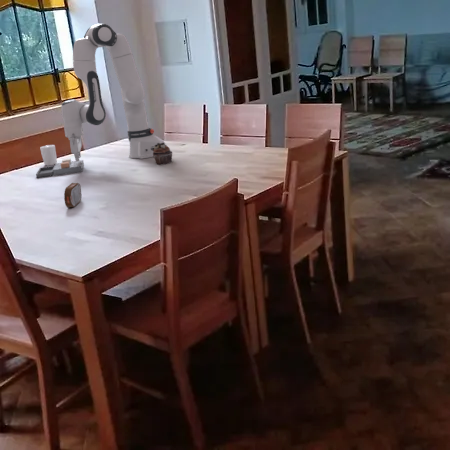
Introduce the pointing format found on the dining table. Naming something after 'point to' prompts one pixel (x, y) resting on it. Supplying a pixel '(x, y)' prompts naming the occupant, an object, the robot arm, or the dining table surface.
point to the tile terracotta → (65, 164)
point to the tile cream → (67, 160)
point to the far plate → (69, 168)
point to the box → (45, 172)
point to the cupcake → (162, 154)
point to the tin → (72, 195)
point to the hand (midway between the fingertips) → (78, 159)
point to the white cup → (49, 154)
